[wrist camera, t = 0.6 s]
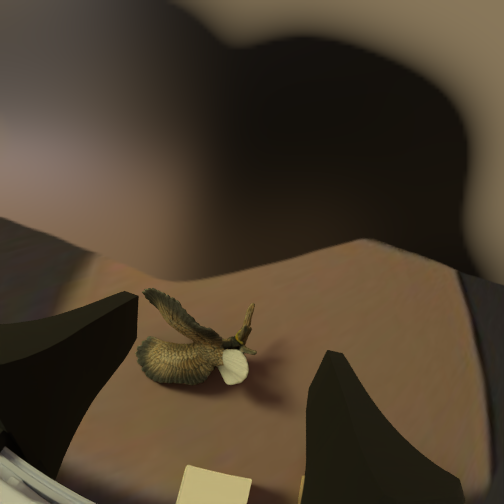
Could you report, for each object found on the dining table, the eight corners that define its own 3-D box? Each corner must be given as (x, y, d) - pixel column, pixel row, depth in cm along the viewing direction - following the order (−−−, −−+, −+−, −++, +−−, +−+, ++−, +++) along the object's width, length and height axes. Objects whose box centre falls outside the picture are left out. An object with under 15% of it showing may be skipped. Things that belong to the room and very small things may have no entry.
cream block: (229, 526, 17) (239, 534, 14) (173, 514, 17) (172, 520, 14) (239, 480, 21) (252, 479, 17) (185, 467, 20) (187, 464, 17)
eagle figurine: (238, 302, 31) (142, 285, 28) (272, 304, 24) (147, 281, 21) (227, 381, 30) (130, 370, 26) (257, 404, 23) (132, 394, 19)
